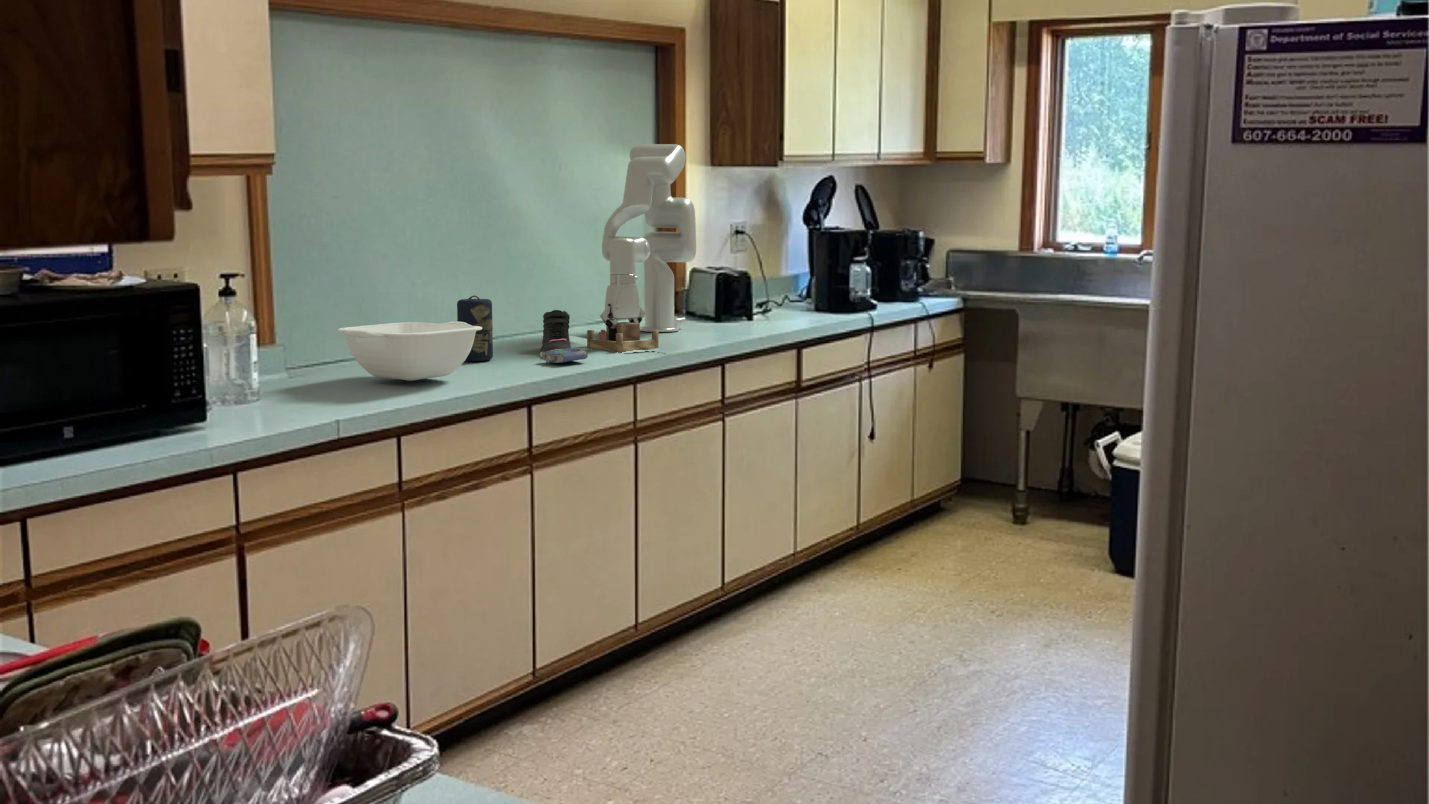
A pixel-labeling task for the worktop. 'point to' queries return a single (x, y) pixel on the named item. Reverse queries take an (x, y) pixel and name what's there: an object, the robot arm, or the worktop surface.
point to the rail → (602, 335)
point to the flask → (564, 355)
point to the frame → (622, 343)
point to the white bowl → (411, 348)
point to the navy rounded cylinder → (478, 315)
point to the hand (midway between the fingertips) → (623, 340)
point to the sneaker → (555, 331)
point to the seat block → (627, 331)
